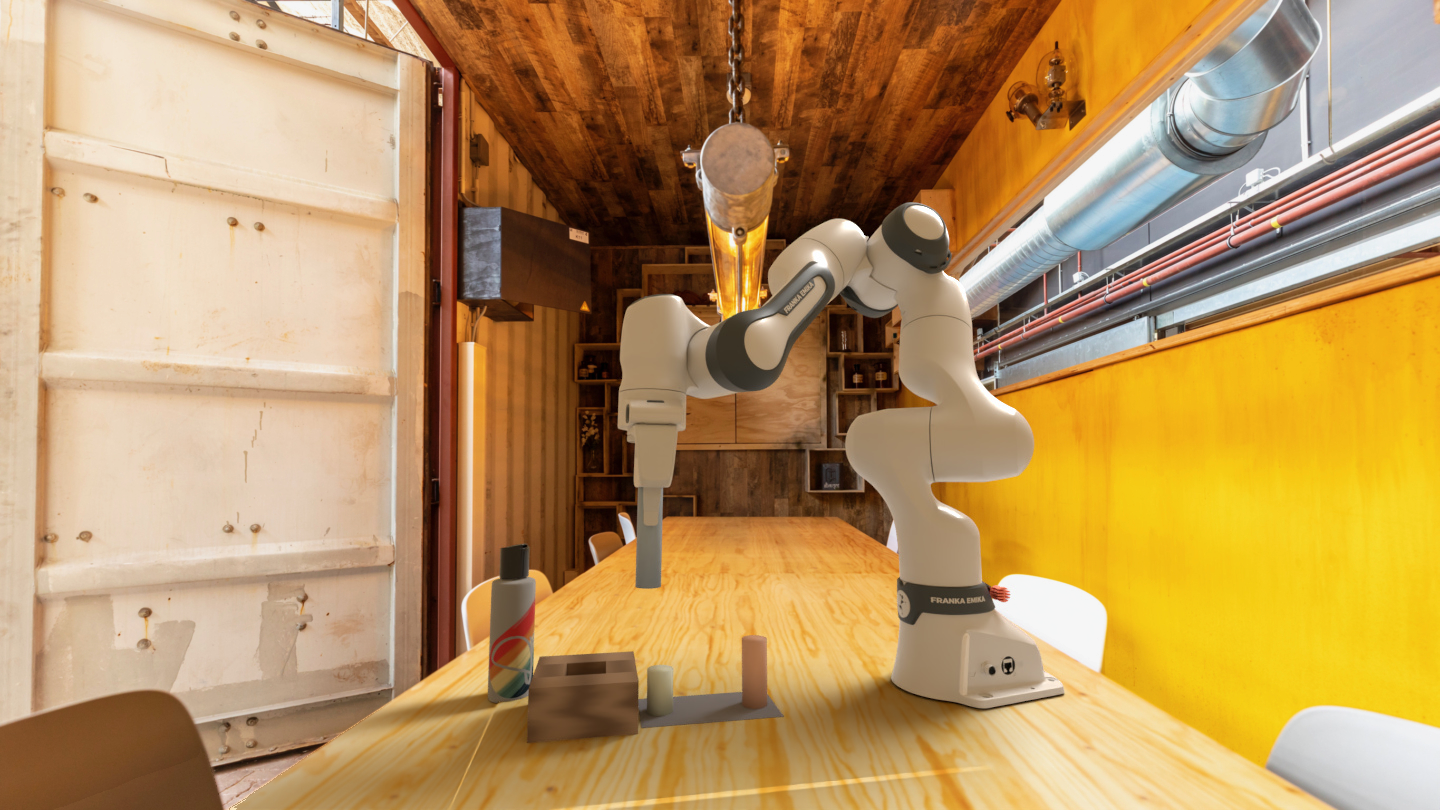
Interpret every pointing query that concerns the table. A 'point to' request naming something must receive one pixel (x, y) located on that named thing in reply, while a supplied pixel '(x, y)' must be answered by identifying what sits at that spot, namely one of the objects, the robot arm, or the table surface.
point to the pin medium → (754, 671)
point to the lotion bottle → (512, 627)
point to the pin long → (648, 548)
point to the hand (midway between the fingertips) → (649, 524)
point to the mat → (707, 710)
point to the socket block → (583, 697)
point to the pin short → (660, 690)
